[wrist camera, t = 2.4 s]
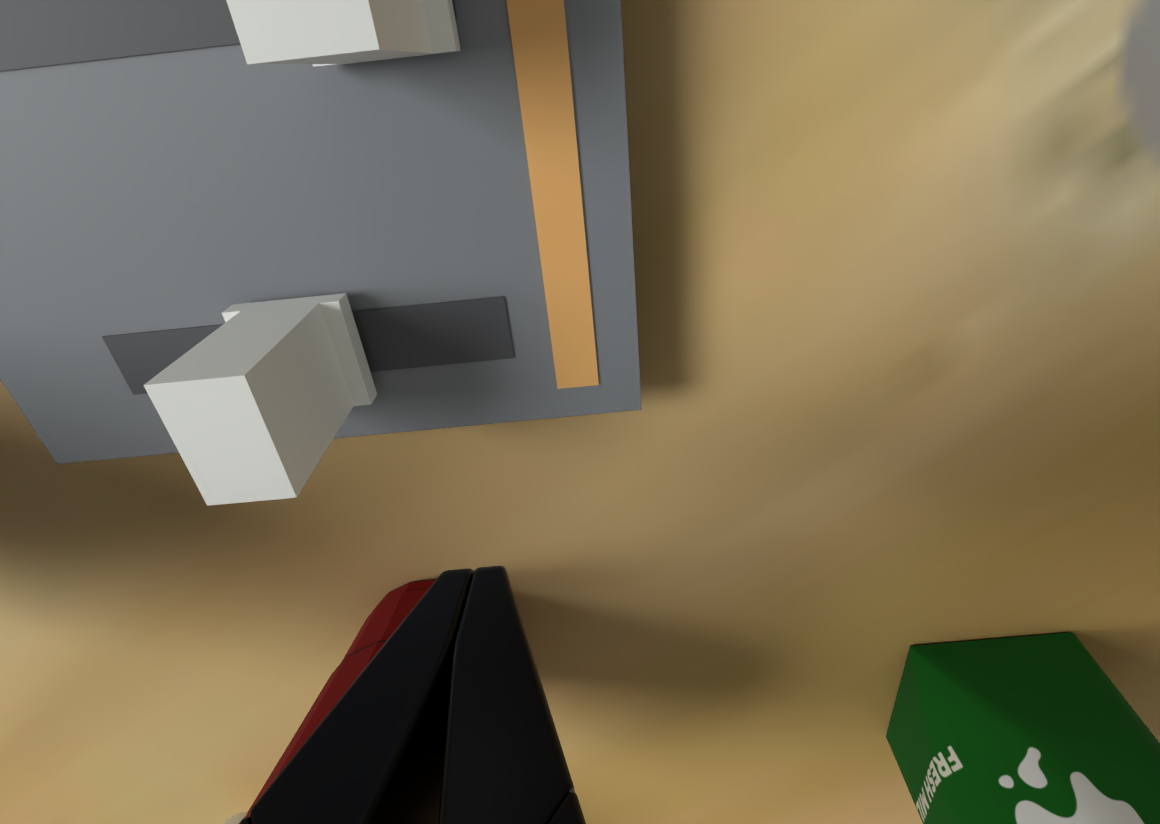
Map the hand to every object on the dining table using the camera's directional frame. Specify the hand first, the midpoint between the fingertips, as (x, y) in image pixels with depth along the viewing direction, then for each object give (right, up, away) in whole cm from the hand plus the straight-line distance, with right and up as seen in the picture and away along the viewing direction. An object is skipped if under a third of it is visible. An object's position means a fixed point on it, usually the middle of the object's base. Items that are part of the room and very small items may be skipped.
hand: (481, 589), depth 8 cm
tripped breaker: (-6, +4, +8) cm, 11 cm away
